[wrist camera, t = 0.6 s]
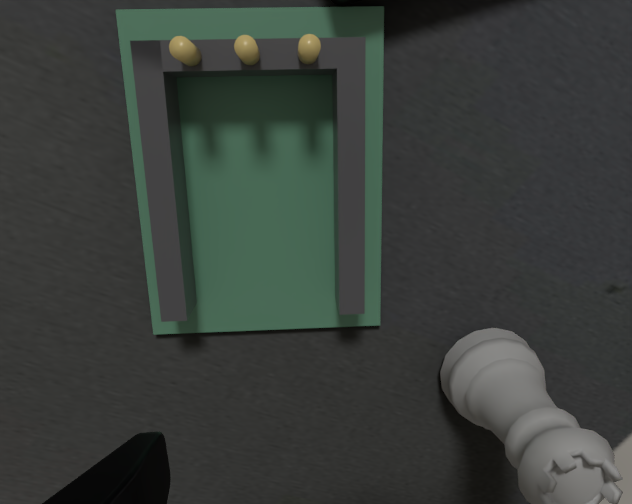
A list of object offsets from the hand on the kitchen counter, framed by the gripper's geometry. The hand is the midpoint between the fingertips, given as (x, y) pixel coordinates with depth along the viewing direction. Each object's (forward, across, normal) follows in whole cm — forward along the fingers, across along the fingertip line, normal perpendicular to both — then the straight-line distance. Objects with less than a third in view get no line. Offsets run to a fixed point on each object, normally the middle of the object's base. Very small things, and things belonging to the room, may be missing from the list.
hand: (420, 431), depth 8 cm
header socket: (+13, +3, -3) cm, 14 cm away
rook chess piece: (+13, -6, +6) cm, 16 cm away
